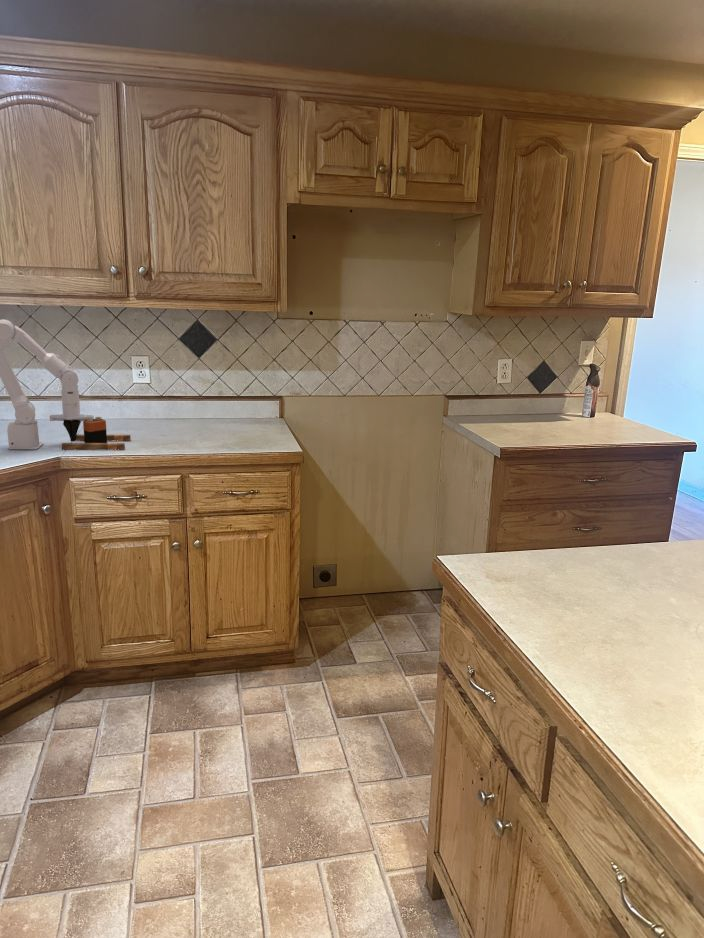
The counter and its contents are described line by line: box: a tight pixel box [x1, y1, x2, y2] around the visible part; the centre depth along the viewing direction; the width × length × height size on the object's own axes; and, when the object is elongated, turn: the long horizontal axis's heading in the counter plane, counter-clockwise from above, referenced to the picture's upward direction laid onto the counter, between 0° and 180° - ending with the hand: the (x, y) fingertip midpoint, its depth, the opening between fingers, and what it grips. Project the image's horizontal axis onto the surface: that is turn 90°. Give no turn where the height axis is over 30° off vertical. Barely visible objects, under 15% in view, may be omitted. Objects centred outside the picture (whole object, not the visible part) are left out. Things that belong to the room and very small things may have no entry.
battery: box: [82, 416, 108, 443], centre depth 245 cm, size 4×7×10 cm, turn 142°
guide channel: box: [61, 433, 131, 451], centre depth 246 cm, size 21×15×2 cm
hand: (73, 440), depth 245 cm, fingers closed
